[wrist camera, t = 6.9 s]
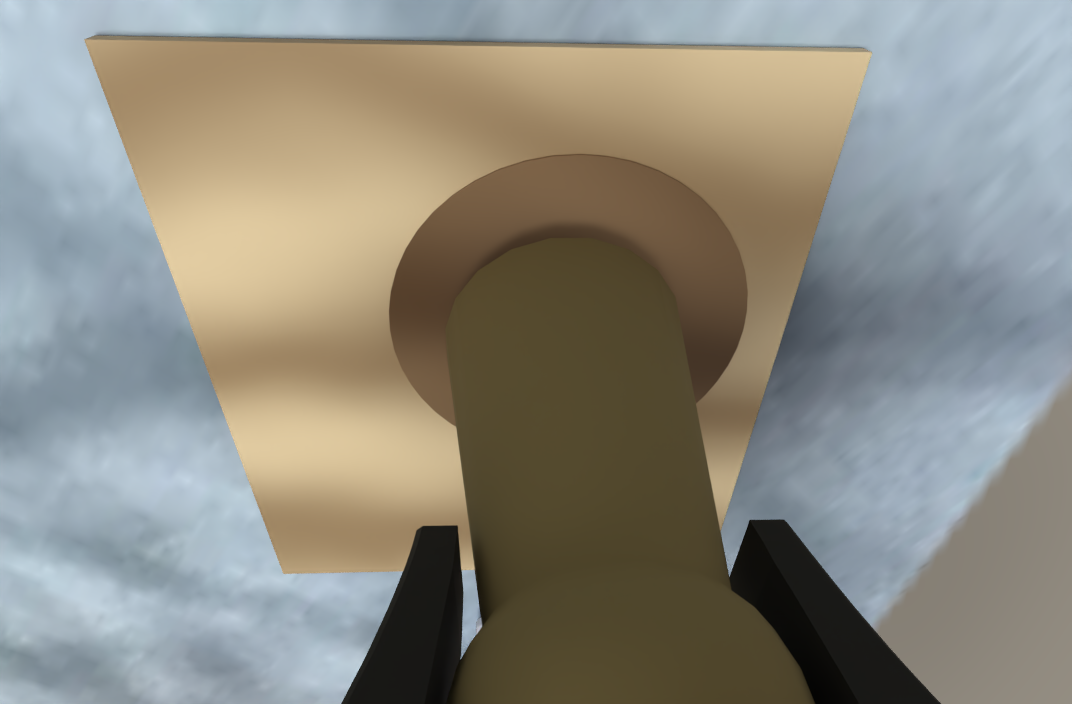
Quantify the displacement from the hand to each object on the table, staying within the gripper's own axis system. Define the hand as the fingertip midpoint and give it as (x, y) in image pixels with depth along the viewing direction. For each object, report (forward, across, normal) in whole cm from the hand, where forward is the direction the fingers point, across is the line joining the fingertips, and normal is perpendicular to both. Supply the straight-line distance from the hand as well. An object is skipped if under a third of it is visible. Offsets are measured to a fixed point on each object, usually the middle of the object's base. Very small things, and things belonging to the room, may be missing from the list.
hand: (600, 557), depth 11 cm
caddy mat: (+8, +2, +2) cm, 8 cm away
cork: (+6, 0, 0) cm, 6 cm away
